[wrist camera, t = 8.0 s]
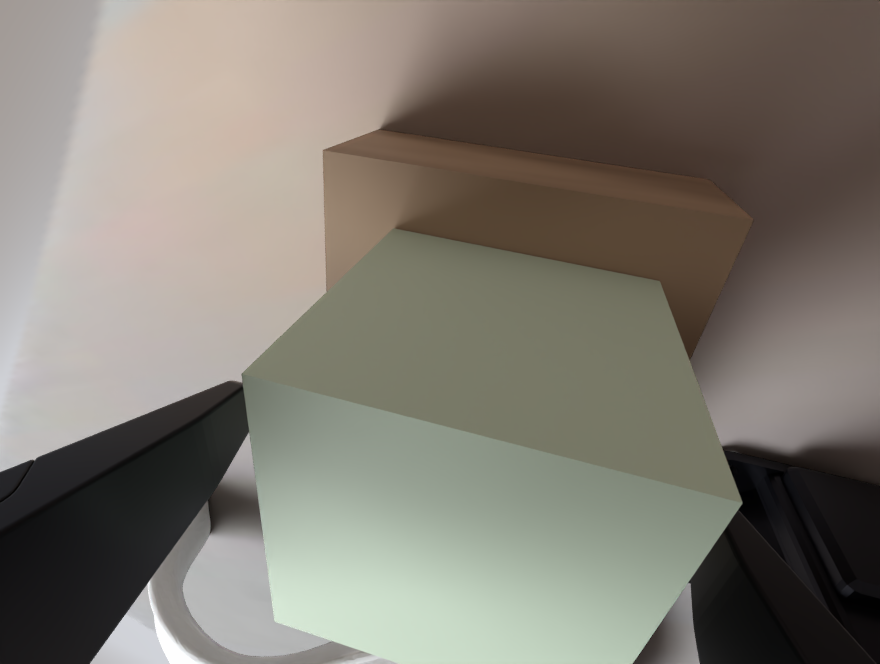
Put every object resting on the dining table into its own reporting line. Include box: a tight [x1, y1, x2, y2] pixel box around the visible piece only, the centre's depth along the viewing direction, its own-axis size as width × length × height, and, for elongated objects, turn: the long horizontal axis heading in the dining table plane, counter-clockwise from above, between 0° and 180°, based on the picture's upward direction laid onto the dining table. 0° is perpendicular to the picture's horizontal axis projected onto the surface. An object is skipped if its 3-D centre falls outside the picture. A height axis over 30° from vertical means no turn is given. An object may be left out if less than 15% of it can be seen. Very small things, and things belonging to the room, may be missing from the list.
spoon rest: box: [148, 501, 399, 664], centre depth 22 cm, size 24×12×7 cm, turn 79°
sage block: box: [242, 228, 742, 664], centre depth 10 cm, size 6×6×6 cm
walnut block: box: [323, 129, 754, 361], centre depth 14 cm, size 9×9×4 cm
